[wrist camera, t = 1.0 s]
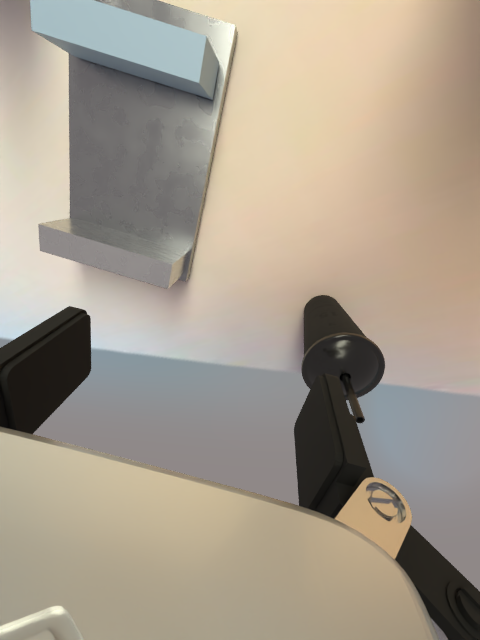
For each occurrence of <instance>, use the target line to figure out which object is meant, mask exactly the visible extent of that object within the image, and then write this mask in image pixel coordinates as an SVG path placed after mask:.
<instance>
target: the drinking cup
mask: <svg viewBox="0 0 480 640" xmlns="http://www.w3.org/2000/svg"><path fill="white" fill-rule="evenodd" d="M384 369H385V361H384V357H383V354H382V352H381V351H380V349H379V347H378V346H377V345H376V344H375V343H374V342H373V341H371V340H370V339H368V338H367V337H366V336H365V335H364V334H363V333H362V331H361V330H360V329H359V328H358V326H357V325H356V324H355V323H354V322H353V320H352V319H351V318H350V317H349V315H348V314H347V313H346V312H345V311H344V309H343V308H342V307H341V306H340V305H339V303H338V302H337V301H336V300H335V299H334V298H332V297H330V296H326V295H321V296H316V297H314V298H312V299H311V300H310V301H309V302H308V303H307V304H306V306H305V309H304V358H303V361H302V376H303V379H304V381H305V383H306V384H307V386H308V387H309V388H310V389H311V387H312V385H313V383H314V381H315V379H316V377H317V376H318V375H319V376H321V375H322V374H323V373H325V374H329V375H333V376H337V377H338V378H339V380H340V384H341V387H342V390H343V393H344V396H345V400H349V403H350V406H351V409H352V412H353V415H354V418H355V421H356V422H357V423H362V422H364V420H365V419H364V416H363V413H362V411H361V408H360V405H359V403H358V400H357V398H358V397H361V396H363V395H365V394H367V393H368V392H370V391H371V390H372V389H373V388H375V387H376V386H377V384H378V383H379V382H380V380H381V378H382V376H383V374H384Z"/></svg>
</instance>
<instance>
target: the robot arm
mask: <svg viewBox="0 0 480 640" xmlns="http://www.w3.org/2000/svg"><path fill="white" fill-rule="evenodd" d="M90 371H91V328H90V316H89V315H87V312H86V311H85V310H83V309H79V308H75V307H70V306H69V307H67V308H65V309H64V310H62V311H60V312H59V313H57V314H56V315H54V316H52V317H51V318H49V319H47V320H46V321H44V322H42V323H41V324H39V325H37V326H36V327H34V328H33V329H31V330H29V331H28V332H26V333H24V334H23V335H21V336H19V337H18V338H16V339H15V340H13V341H11V342H10V343H8V344H7V345H5V346H3V347H1V348H0V640H480V592H479V591H478V589H476V588H475V587H474V586H473V585H472V584H471V583H470V582H469V581H468V580H467V579H466V578H465V577H464V576H463V575H462V574H461V573H460V572H459V571H458V570H457V569H456V568H455V567H454V566H453V565H451V563H450V562H449V561H447V560H446V559H445V558H444V557H443V556H442V555H441V554H440V553H439V552H438V551H437V550H436V549H435V548H434V547H433V546H432V545H431V544H430V543H429V542H428V541H427V540H426V539H425V538H424V537H423V536H421V535H420V533H418V532H417V531H416V530H415V529H414V528H413V527H412V526H411V521H412V514H411V510H410V508H409V505H408V503H407V501H406V500H405V499H404V497H403V496H402V495H401V493H400V492H399V491H398V490H397V489H396V488H394V487H393V486H392V485H391V484H389V483H388V482H386V481H384V480H382V479H379V478H374V476H373V473H372V470H371V467H370V463H369V460H368V457H367V454H366V451H365V448H364V445H363V442H362V439H361V436H360V433H359V430H358V427H357V424H356V421H355V418H354V416H353V415H351V414H350V412H349V409H348V406H347V403H346V400H345V396H344V393H343V390H342V387H341V384H340V380H339V378H338V377H337V376H333V375H329V374H325V373H323V374H322V375H321V376H319V375H318V376H317V377H316V379H315V381H314V383H313V385H312V387H311V390H310V392H309V394H308V396H307V398H306V401H305V403H304V405H303V407H302V409H301V412H300V414H299V416H298V418H297V421H296V423H295V427H294V436H295V449H296V465H297V479H298V494H299V506H298V505H295V504H291V503H288V502H284V501H280V500H277V499H274V498H270V497H267V496H263V495H260V494H256V493H253V492H249V491H245V490H242V489H238V488H234V487H231V486H227V485H223V484H220V483H216V482H212V481H208V480H204V479H201V478H197V477H193V476H190V475H186V474H182V473H178V472H175V471H171V470H167V469H163V468H159V467H155V466H152V465H148V464H144V463H141V462H137V461H133V460H129V459H125V458H122V457H118V456H114V455H110V454H107V453H103V452H99V451H95V450H91V449H87V448H83V447H79V446H76V445H72V444H68V443H64V442H60V441H56V440H52V439H48V438H45V437H41V436H37V435H33V433H34V432H35V431H36V430H37V428H39V426H40V425H41V424H42V423H43V422H44V421H45V420H46V419H47V418H48V417H49V416H50V415H51V414H52V413H53V412H54V411H55V410H56V409H57V408H58V407H59V406H60V405H61V404H62V403H63V401H64V400H65V399H66V398H67V397H68V396H69V395H70V394H71V393H72V392H73V391H74V390H75V389H76V388H77V387H78V386H79V385H80V384H81V383H82V382H83V381H84V380H85V379H86V378H87V377H88V375H89V373H90Z"/></svg>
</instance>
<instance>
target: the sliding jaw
mask: <svg viewBox="0 0 480 640" xmlns="http://www.w3.org/2000/svg"><path fill="white" fill-rule="evenodd" d="M30 9H31V28H32V31H34V32H35V33H37V34H39V35H40V36H42V37H43V38H45V39H47V40H48V41H50V42H52V43H53V44H55V45H57V46H58V47H60V48H61V49H63V50H65V51H66V52H68V53H70V54H71V55H73V56H74V57H78V58H81V59H84V60H87V61H90V62H93V63H97V64H100V65H103V66H106V67H109V68H113V69H116V70H119V71H122V72H125V73H128V74H132V75H135V76H138V77H141V78H144V79H148V80H151V81H154V82H157V83H160V84H163V85H167V86H170V87H173V88H176V89H179V90H183V91H186V92H189V93H192V94H195V95H199V96H202V97H205V98H208V99H211V100H213V94H214V89H215V83H216V78H217V72H218V67H219V61H218V59H217V57H216V55H215V52H214V50H213V48H212V46H211V44H210V42H209V40H208V38H207V36H205V35H202V34H198V33H195V32H192V31H189V30H186V29H183V28H180V27H176V26H173V25H170V24H167V23H164V22H161V21H158V20H154V19H151V18H148V17H145V16H142V15H139V14H136V13H132V12H129V11H126V10H123V9H120V8H117V7H114V6H110V5H107V4H104V3H101V2H98V1H95V0H30Z"/></svg>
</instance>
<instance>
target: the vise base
mask: <svg viewBox="0 0 480 640" xmlns="http://www.w3.org/2000/svg"><path fill="white" fill-rule="evenodd" d="M95 1H98V2H101V3H104V4H107V5H110V6H114V7H117V8H120V9H123V10H126V11H129V12H132V13H136V14H139V15H142V16H145V17H148V18H151V19H154V20H158V21H161V22H164V23H167V24H170V25H173V26H176V27H180V28H183V29H186V30H189V31H192V32H195V33H198V34H202V35H205V36H207V38H208V40H209V42H210V44H211V46H212V48H213V50H214V52H215V55H216V57H217V59H218V61H219V67H218V72H217V78H216V83H215V89H214V94H213V100H211V99H208V98H205V97H202V96H199V95H195V94H192V93H189V92H186V91H183V90H179V89H176V88H173V87H170V86H167V85H163V84H160V83H157V82H154V81H151V80H148V79H144V78H141V77H138V76H135V75H132V74H128V73H125V72H122V71H119V70H116V69H113V68H109V67H106V66H103V65H100V64H97V63H93V62H90V61H87V60H84V59H81V58H78V57H74V56H73V55H71V54H70V53H69V142H70V218H68V219H63V220H57V221H52V222H46V223H41V224H39V241H40V251H43V252H46V253H49V254H53V255H56V256H59V257H63V258H66V259H69V260H73V261H76V262H79V263H83V264H86V265H89V266H93V267H96V268H99V269H103V270H106V271H109V272H113V273H116V274H119V275H123V276H126V277H129V278H133V279H136V280H139V281H143V282H146V283H149V284H153V285H156V286H159V287H163V288H166V289H169V288H170V287H171V286H172V285H173V284H174V283H175V282H176V281H177V280H178V279H179V280H182V281H185V282H186V281H187V280H188V279H189V275H190V270H191V265H192V260H193V255H194V250H195V245H196V240H197V235H198V230H199V225H200V220H201V215H202V210H203V205H204V200H205V195H206V190H207V185H208V180H209V175H210V170H211V165H212V159H213V154H214V149H215V144H216V139H217V134H218V129H219V124H220V119H221V114H222V109H223V104H224V99H225V94H226V89H227V84H228V79H229V74H230V69H231V64H232V59H233V54H234V49H235V44H236V39H237V33H238V32H237V28H236V25H233V24H230V23H227V22H224V21H221V20H217V19H214V18H211V17H208V16H205V15H202V14H199V13H196V12H192V11H189V10H186V9H183V8H180V7H177V6H174V5H171V4H167V3H164V2H161V1H158V0H95Z"/></svg>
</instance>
